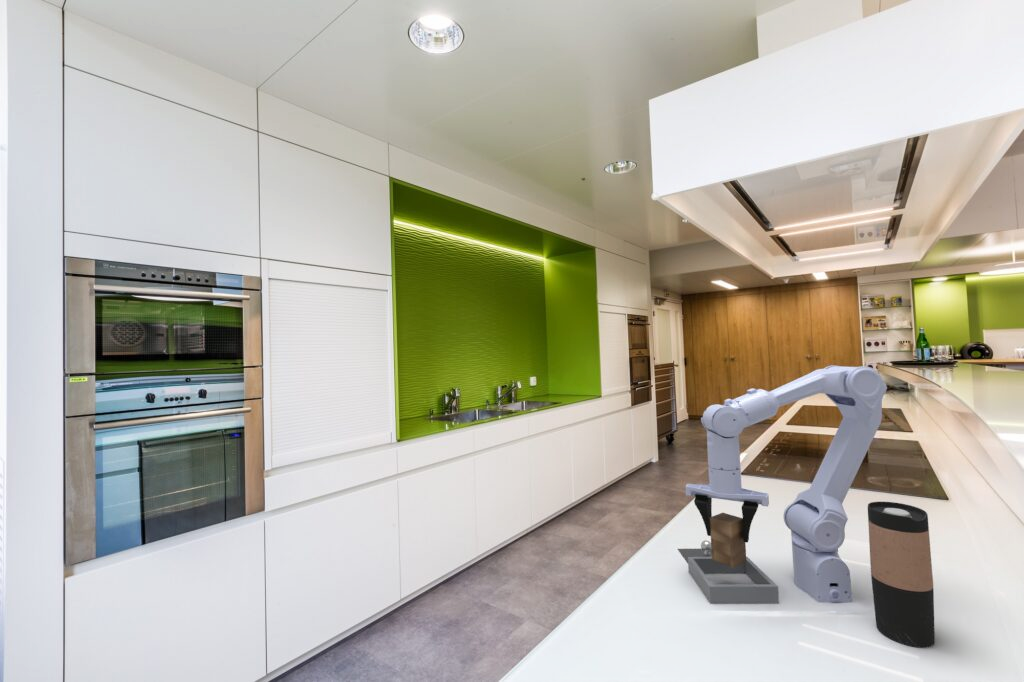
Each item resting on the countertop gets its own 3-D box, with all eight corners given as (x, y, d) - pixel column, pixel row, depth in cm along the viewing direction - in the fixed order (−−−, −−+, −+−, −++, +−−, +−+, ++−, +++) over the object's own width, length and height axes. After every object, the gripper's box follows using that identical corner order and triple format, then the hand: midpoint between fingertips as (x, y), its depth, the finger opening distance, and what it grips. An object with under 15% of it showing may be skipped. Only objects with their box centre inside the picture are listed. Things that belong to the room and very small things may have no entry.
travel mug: (874, 614, 78) (867, 498, 78) (934, 630, 73) (926, 506, 73) (874, 637, 72) (866, 511, 72) (939, 655, 67) (930, 520, 68)
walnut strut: (746, 561, 86) (744, 518, 86) (733, 567, 84) (731, 524, 84) (724, 553, 90) (722, 512, 90) (711, 559, 87) (709, 517, 88)
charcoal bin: (779, 609, 80) (777, 586, 80) (710, 609, 81) (709, 586, 81) (748, 576, 92) (747, 556, 92) (688, 576, 93) (687, 556, 93)
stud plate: (741, 573, 93) (739, 550, 93) (692, 574, 94) (690, 550, 94) (721, 552, 103) (720, 531, 103) (677, 553, 104) (676, 532, 104)
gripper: (768, 466, 87) (772, 537, 86) (689, 458, 95) (693, 523, 94) (765, 474, 81) (769, 551, 80) (681, 466, 89) (685, 535, 88)
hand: (727, 537), depth 87 cm, fingers closed on walnut strut, 6 cm apart
